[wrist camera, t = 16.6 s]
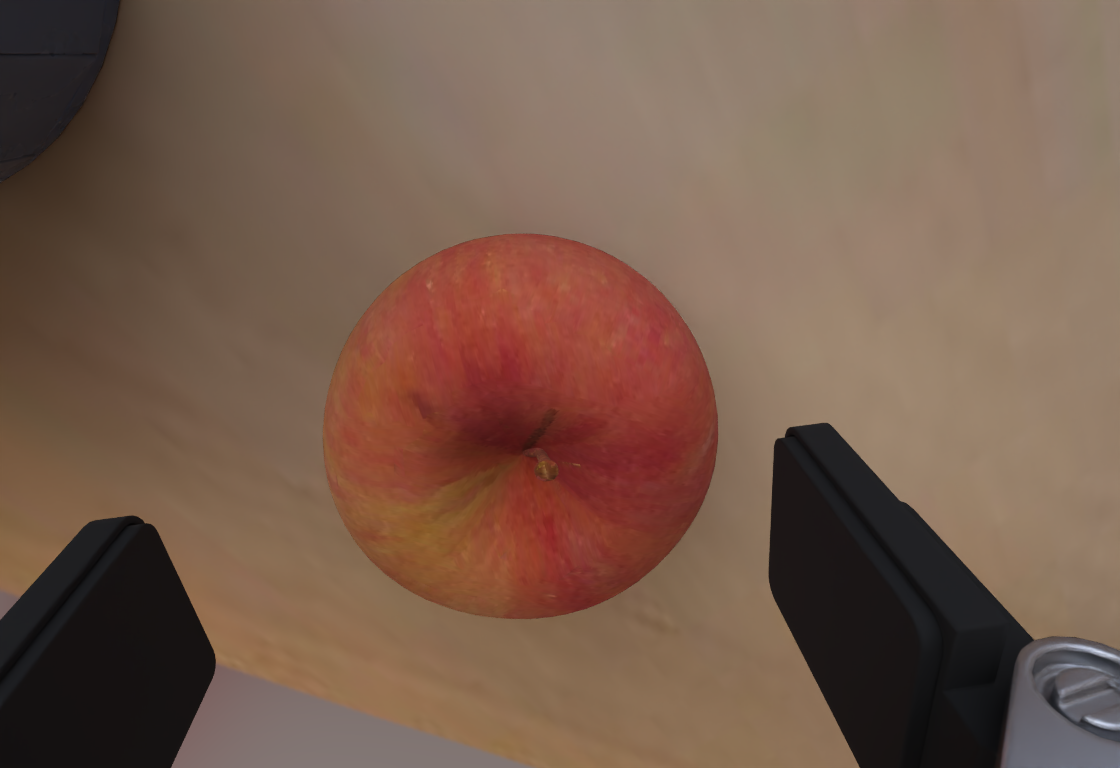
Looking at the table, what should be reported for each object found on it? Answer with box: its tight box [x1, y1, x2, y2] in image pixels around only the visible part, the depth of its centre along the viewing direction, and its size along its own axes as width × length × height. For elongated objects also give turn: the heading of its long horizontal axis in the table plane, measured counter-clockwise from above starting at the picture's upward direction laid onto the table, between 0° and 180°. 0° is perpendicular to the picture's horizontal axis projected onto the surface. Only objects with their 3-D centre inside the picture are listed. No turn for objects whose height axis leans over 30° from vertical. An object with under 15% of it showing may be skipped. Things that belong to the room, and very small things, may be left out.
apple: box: [323, 234, 718, 619], centre depth 13 cm, size 7×7×8 cm
